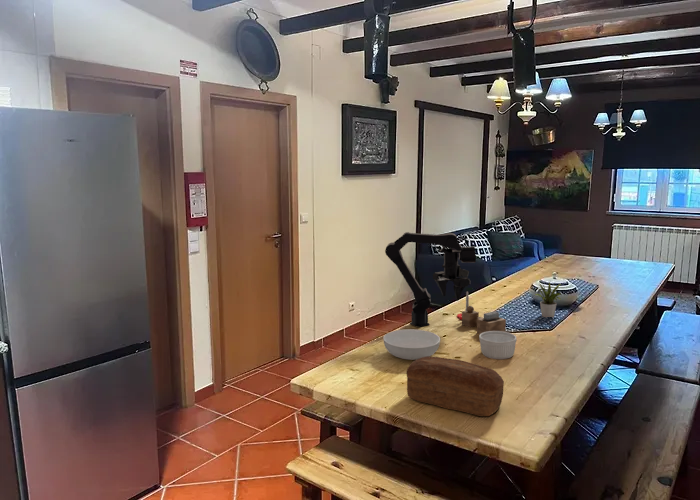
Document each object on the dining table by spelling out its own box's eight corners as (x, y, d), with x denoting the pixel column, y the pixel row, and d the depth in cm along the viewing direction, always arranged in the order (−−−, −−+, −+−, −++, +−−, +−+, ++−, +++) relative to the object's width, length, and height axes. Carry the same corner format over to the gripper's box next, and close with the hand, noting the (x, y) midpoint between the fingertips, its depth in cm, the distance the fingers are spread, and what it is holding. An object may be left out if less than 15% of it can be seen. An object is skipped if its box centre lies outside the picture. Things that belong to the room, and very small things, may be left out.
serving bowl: (403, 370, 182) (403, 351, 181) (373, 352, 200) (372, 334, 199) (452, 358, 191) (452, 340, 190) (418, 342, 210) (418, 325, 208)
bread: (420, 384, 170) (420, 348, 168) (507, 403, 155) (508, 364, 153) (400, 401, 159) (400, 362, 157) (492, 423, 143) (493, 381, 141)
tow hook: (456, 315, 246) (457, 320, 237) (456, 288, 244) (457, 292, 235) (475, 315, 244) (476, 320, 235) (475, 288, 243) (477, 292, 234)
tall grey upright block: (487, 329, 215) (487, 315, 214) (483, 327, 217) (483, 313, 216) (498, 326, 217) (498, 312, 216) (494, 325, 219) (494, 311, 218)
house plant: (527, 319, 235) (528, 283, 232) (529, 310, 247) (530, 276, 245) (561, 321, 229) (563, 285, 227) (562, 313, 242) (563, 278, 239)
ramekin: (471, 351, 198) (471, 333, 196) (500, 345, 203) (500, 328, 201) (494, 363, 185) (494, 344, 184) (524, 357, 191) (524, 338, 189)
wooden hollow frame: (488, 337, 212) (489, 316, 211) (458, 325, 229) (458, 306, 227) (505, 333, 216) (505, 313, 215) (474, 322, 233) (474, 303, 231)
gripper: (480, 263, 221) (480, 300, 224) (451, 257, 237) (452, 291, 240) (459, 267, 216) (459, 303, 219) (431, 260, 232) (432, 294, 235)
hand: (450, 298), depth 228 cm, fingers open, 9 cm apart
